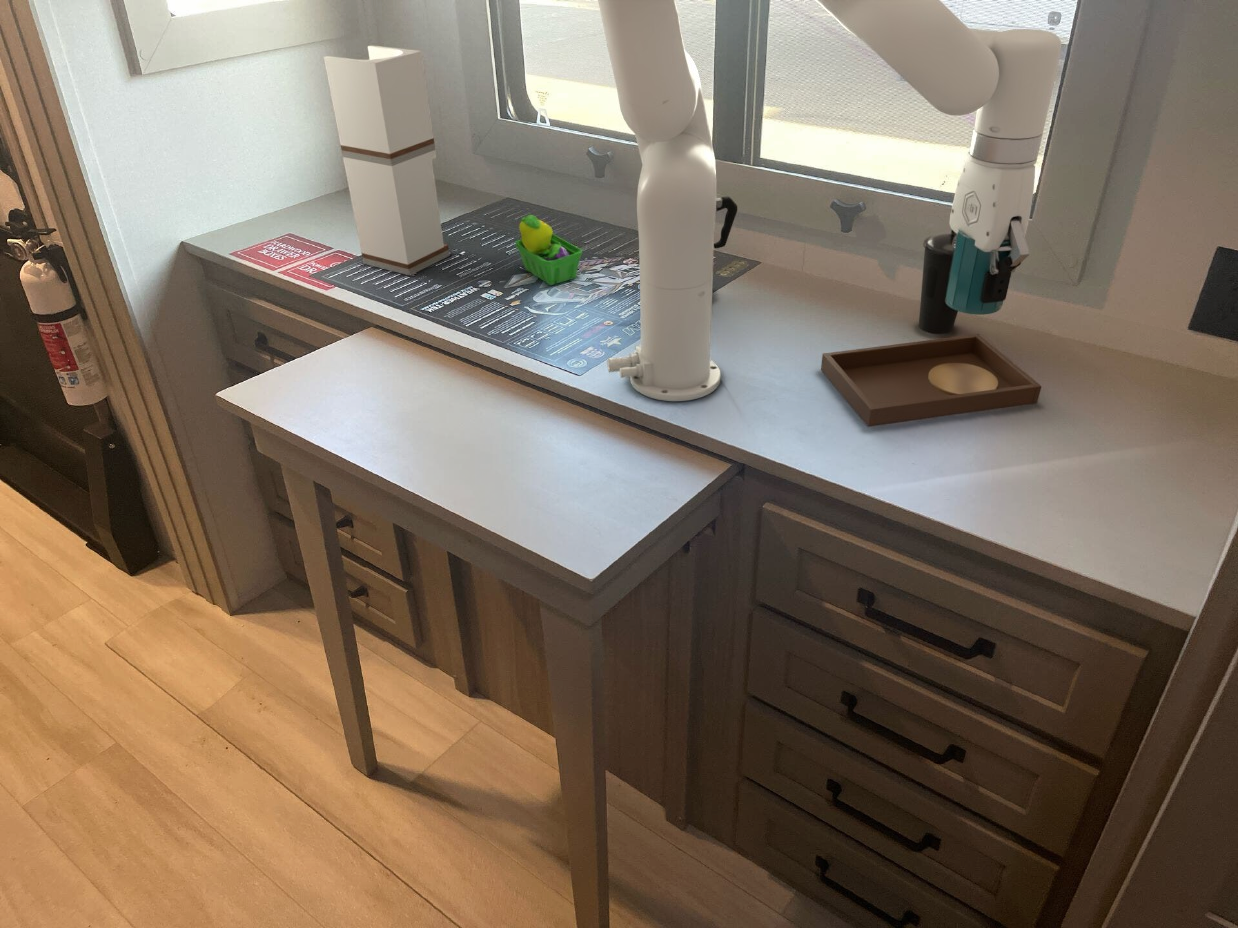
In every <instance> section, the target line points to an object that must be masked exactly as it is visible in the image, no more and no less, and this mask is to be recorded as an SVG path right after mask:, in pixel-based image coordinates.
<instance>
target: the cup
mask: <svg viewBox="0 0 1238 928" xmlns="http://www.w3.org/2000/svg"><path fill="white" fill-rule="evenodd" d="M1009 244H1010V241H1009V240H1003V242H1002V243H1001V245H1000V246H1009ZM1006 254H1007V251H1004V252H998V259H999V261H1001V260H1002V259H1003V258H1004V257H1006ZM988 271H990V267H989V252H984V251H982V250H980V249H978V248H977V247H976V246H975V240H974V239H973V238H971V237H968V236H966V235H965V234H963V233H962V231H961V230H959V229H958V233H957V237H956V243H955V248H954V254H953V259H952V265H951V270H950V275H949V281H948V286H947V292H946V298H945V302H946V304H947V305H948V306H949V307H950V308H952V309H954V310H957V311H958V313H964V314H968V315H978V316H979V315H980V316H981V315H991V314H995V313H998V312H999V311H1000V310H1001V309H1002V306H1003V305H1004V301H1000V302H992V303H982V302H981V301H980V297H981V292H982V287H983V282H984V277H985V273H986V272H988Z"/></svg>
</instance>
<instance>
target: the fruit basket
mask: <svg viewBox="0 0 1238 928" xmlns="http://www.w3.org/2000/svg"><path fill="white" fill-rule="evenodd" d="M518 229H519V232H520V239H518V240H516V241H515V242H514V244H515V246H516V249H518V252H519V256H520V258H521V261H522V263H523V266H524V269H525V270H526V271H528V272H530V273H531V274H532V275H533V276H535V277H537V278H539V279H540V280H541V281H543V282H545V283H546V284H547V285H550V286H553V285H555V284H560V283H564V282H567V281H569V280H574V279H576V278H577V272H578V268H579V265H580V260H581V257H582V254H583V249H581V248H579V247H578V246H576V245H574V244H572V243H571V242H569V241H566V240H565V239H564V238H561V237H559V236H558V235H557V234H554V233H553V232H554V231H553V228H552V227H551V225H549V224H548V223H546V222H544V221H543V220H540V219H539V218H538V217H537V216H535V215H534V214H528V215H526V216H525V217H524V216H523V217H522V218H521V219H520V223H519V225H518Z"/></svg>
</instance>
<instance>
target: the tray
mask: <svg viewBox="0 0 1238 928" xmlns="http://www.w3.org/2000/svg"><path fill="white" fill-rule="evenodd" d="M946 363H964V364H970V365H974V366H978V367H981V368H983V369H985V370H987V371H989V372H991V373H992V374H993V375H994V376H995V377H996V378H997V380H998V387H997V389H994V390H987V391H979V392H972V393H965V394H957V395H952V394H949V393H946V392H944V391H941V390H939V389H938V388H936V387H935V386H933V385H932V384H931V383H930V381H929V378H928V375H929V372H930V370H931V369H932V368H934V367H936V366H938V365H941V364H946ZM820 370H821V372H822V373H823V374H824V375H825V377H826V378H827V379H828V380H829V382H830V383H831V384H832V386H834V388H835V389H836V390H837V391H838V393H840V395H841V396H842V397H843V399H844V400H845V401H846V402H847V403H848V404H849V406H850V407H851V408H852V410H853V411H855V413H856V414H857V415H858V417H860V419H861V420H862V421H863V422H864V424H865V425H866V426H867V427H868V428H870V427H877V426H878V427H879V426H884V425H891V424H899V423H906V422H913V421H920V420H927V419H933V418H934V419H935V418H941V417H949V416H955V415H956V416H957V415H962V414H969V413H977V412H984V411H992V410H998V409H999V410H1000V409H1006V408H1013V407H1019V406H1028V405H1035V404H1038V402H1039V398H1040V394H1041V390H1042V387H1043V386H1042V385H1041V384H1040V383H1039V382H1037V381H1036V380H1035V379H1034V378H1032V376H1031V375H1029V374H1028V373H1026V372H1025V371H1024V370H1023V369H1022V368H1020V367H1019V365H1017V364H1015V363H1014V362H1013V361H1012V360H1010V359H1009V358H1008V356H1006V355H1005V354H1003V353H1002V352H1001V351H1000V350H999V349H997V348H996V347H995V346H994V345H992V344H991V342H989V341H988V340H987V339H985V338H984V337H983V336H982V335H980V334H979V333H976V334H968V335H967V334H966V335H960V336H951V337H943V338H937V339H936V338H935V339H927V340H919V341H911V342H903V343H896V344H889V345H887V344H886V345H880V346H879V345H878V346H872V347H863V348H856V349H848V350H840V351H833V352H824V353H822V356H821V366H820Z"/></svg>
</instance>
